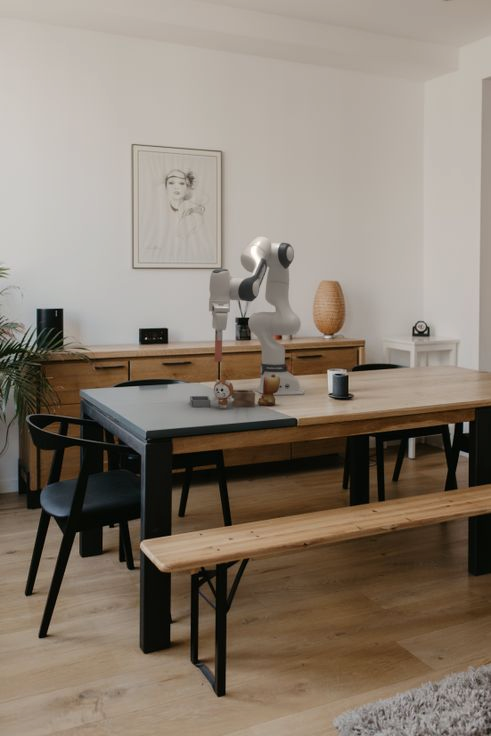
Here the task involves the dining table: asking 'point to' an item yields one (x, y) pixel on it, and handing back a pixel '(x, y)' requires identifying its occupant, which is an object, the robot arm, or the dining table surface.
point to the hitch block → (243, 398)
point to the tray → (199, 401)
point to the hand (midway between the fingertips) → (218, 340)
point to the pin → (218, 349)
